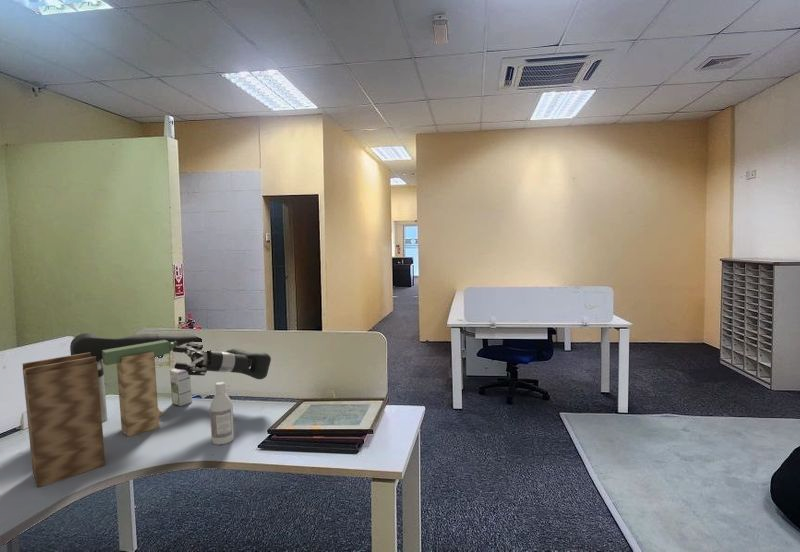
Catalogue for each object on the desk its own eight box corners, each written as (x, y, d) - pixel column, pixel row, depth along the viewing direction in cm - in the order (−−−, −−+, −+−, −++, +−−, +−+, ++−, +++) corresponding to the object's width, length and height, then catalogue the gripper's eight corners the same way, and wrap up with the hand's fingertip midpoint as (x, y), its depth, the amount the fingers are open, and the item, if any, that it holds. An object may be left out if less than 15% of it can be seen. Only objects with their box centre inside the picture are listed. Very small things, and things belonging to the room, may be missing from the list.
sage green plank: (105, 365, 146) (105, 352, 146) (102, 362, 149) (101, 350, 149) (178, 351, 163) (177, 340, 162) (174, 349, 166) (173, 338, 165)
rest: (127, 436, 151) (121, 357, 148) (121, 429, 156) (115, 353, 154) (159, 427, 158) (154, 352, 155) (152, 421, 163) (147, 348, 161)
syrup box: (192, 402, 182) (190, 368, 180) (179, 406, 177) (177, 372, 175) (184, 399, 185) (182, 366, 183) (171, 404, 180) (169, 369, 178)
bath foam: (216, 436, 150) (213, 379, 149) (236, 435, 151) (234, 379, 149) (208, 445, 144) (205, 387, 142) (229, 445, 144) (226, 386, 142)
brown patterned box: (37, 487, 121) (25, 370, 117) (32, 474, 127) (22, 362, 124) (105, 465, 132) (96, 357, 129) (97, 454, 139) (89, 351, 136)
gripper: (220, 341, 168) (176, 335, 158) (226, 367, 158) (179, 363, 148) (213, 355, 171) (168, 351, 160) (218, 382, 161) (171, 379, 150)
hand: (174, 356), depth 154 cm, fingers open, 8 cm apart
